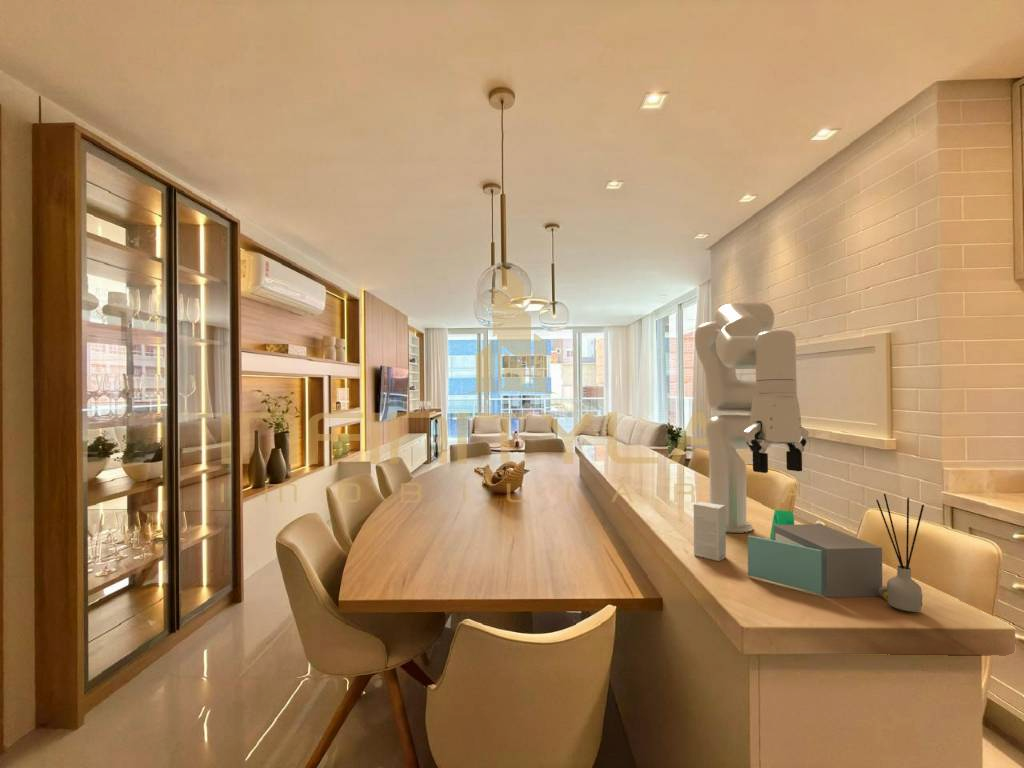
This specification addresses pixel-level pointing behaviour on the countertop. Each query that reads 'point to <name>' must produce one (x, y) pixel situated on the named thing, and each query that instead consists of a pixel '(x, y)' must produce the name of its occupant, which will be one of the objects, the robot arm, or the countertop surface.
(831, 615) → the countertop surface
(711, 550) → the skincare box
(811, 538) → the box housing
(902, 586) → the reed diffuser
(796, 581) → the side door
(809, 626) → the countertop surface
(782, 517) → the camera mount
